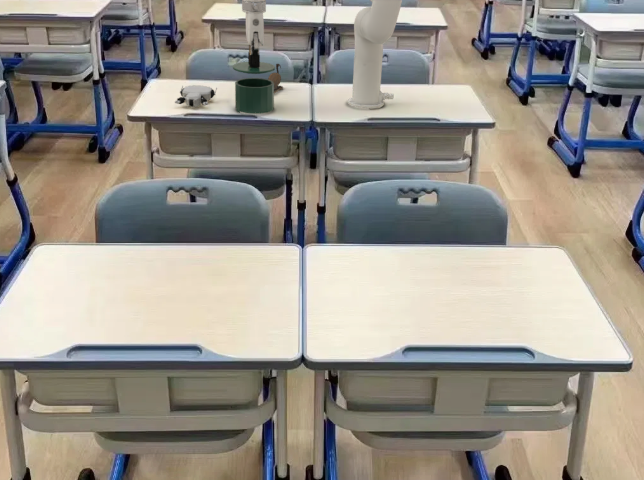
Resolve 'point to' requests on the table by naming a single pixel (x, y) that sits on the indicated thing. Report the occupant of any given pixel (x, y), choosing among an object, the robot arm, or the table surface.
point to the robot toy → (196, 95)
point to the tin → (254, 95)
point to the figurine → (276, 79)
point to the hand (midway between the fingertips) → (254, 65)
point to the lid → (246, 68)
